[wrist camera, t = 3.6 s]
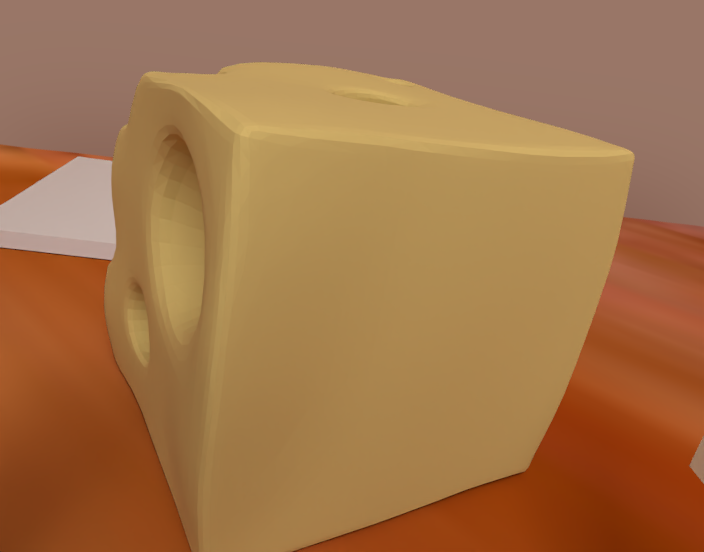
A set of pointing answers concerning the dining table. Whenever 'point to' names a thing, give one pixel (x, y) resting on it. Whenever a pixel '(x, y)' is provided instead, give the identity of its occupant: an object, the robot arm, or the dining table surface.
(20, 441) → the dining table surface
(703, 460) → the robot arm
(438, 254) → the cheese
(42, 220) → the mat
